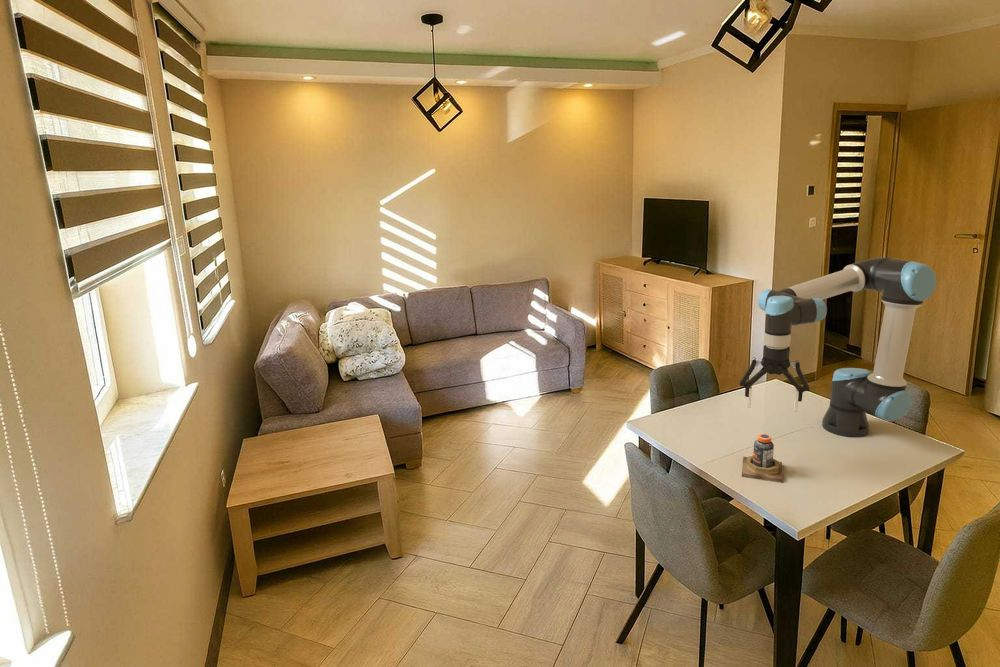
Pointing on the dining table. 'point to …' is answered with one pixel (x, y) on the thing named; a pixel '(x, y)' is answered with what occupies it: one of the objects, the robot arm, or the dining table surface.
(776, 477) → the socket board
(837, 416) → the robot arm
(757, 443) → the pill bottle
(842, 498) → the dining table surface
